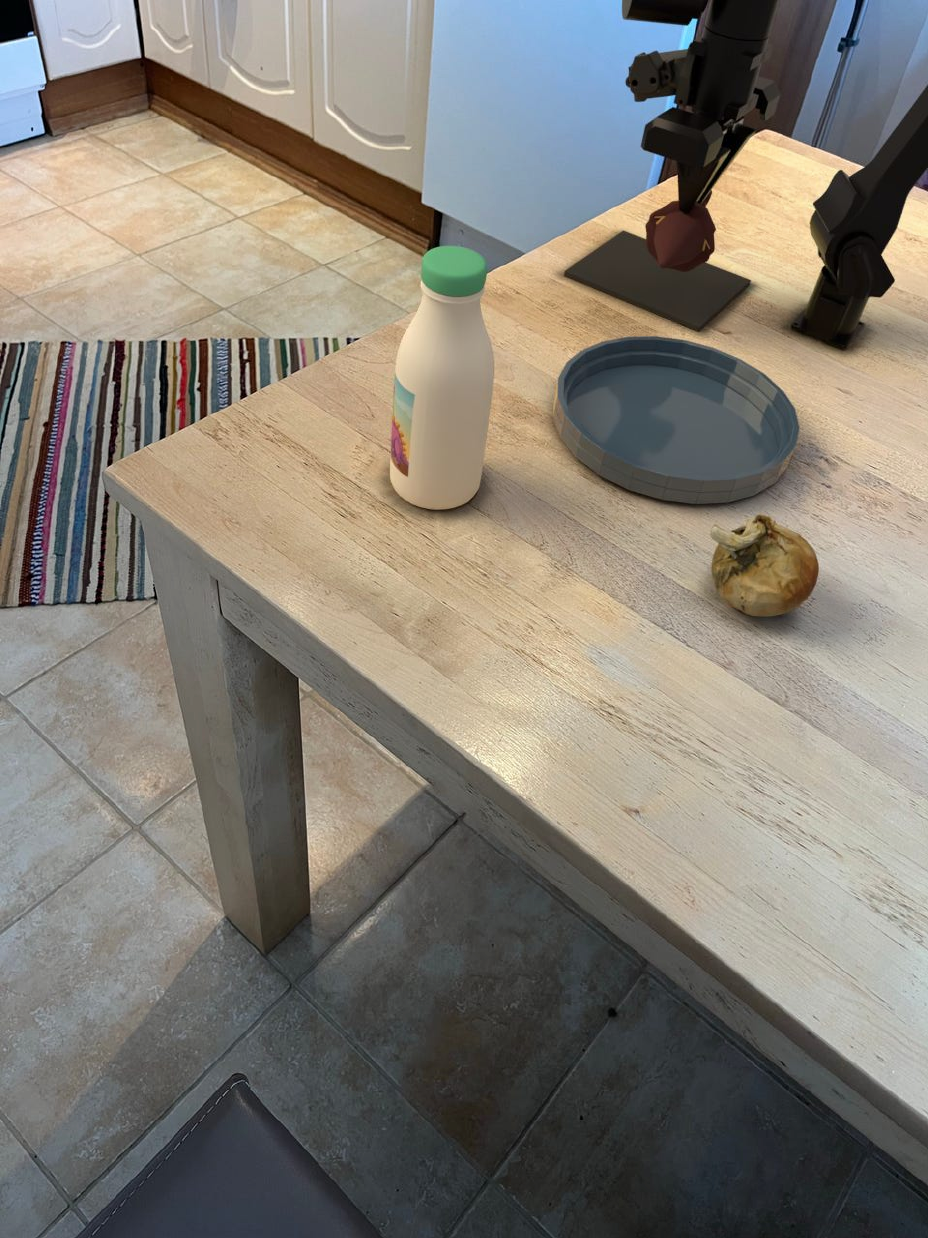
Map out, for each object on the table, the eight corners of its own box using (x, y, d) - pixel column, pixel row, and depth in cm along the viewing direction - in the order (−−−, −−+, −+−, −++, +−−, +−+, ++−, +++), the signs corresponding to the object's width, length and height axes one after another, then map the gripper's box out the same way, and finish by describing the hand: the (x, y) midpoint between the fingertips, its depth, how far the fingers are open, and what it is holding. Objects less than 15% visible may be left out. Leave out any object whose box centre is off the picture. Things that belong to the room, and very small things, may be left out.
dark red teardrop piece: (715, 253, 88) (744, 196, 98) (646, 213, 88) (682, 160, 98) (678, 314, 94) (709, 254, 104) (613, 276, 94) (651, 220, 104)
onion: (757, 651, 71) (795, 576, 65) (679, 587, 75) (707, 510, 69) (818, 609, 74) (858, 534, 68) (740, 550, 78) (772, 474, 72)
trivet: (622, 234, 115) (623, 229, 115) (749, 284, 110) (751, 279, 109) (563, 275, 107) (564, 270, 107) (698, 332, 101) (700, 326, 101)
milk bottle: (491, 469, 82) (523, 248, 68) (462, 523, 77) (490, 297, 63) (408, 444, 84) (422, 223, 69) (375, 496, 79) (382, 269, 64)
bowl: (622, 337, 99) (628, 311, 97) (821, 424, 92) (833, 397, 90) (507, 434, 86) (511, 406, 84) (728, 543, 79) (739, 516, 76)
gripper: (696, -13, 91) (657, 155, 102) (607, 28, 80) (574, 211, 91) (805, 16, 87) (753, 187, 99) (728, 64, 76) (679, 250, 88)
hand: (690, 206), depth 94 cm, fingers closed on dark red teardrop piece, 2 cm apart
